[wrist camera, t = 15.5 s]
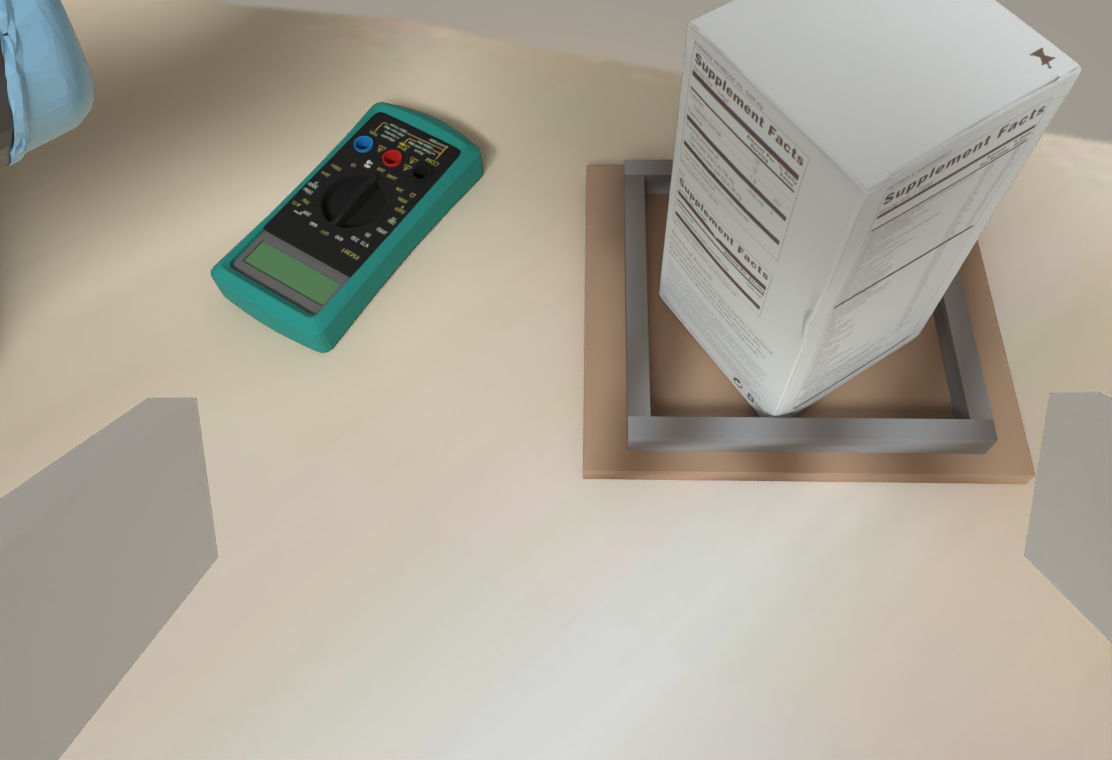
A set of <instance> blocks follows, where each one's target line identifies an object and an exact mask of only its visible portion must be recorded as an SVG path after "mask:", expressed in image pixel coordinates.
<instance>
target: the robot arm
mask: <svg viewBox="0 0 1112 760" xmlns="http://www.w3.org/2000/svg"><path fill="white" fill-rule="evenodd" d="M94 97H95V94H94V85H93V79H92V76H91V72H90V70H89V67H88V65H87V62H86V59H85V57H84V54H83V51H82V49H81V46H80V44H79V42H78V39H77V37H76V34H75V32H74V30H73V27H72V25H71V23H70V20H69V18H68V16H67V14H66V12H65V9H64V7H63V5H62V3H61V0H0V167H2V166H4V165H8V166H10V165H13V164H15V163H16V162H19V161H21V160H22V159H23V157H24V156H25V153H27V152H29V151H31V150H33V149H35V148H37V147H39V146H41V145H43V144H45V143H47V142H49V141H51V140H53V139H55V138H57V137H59V136H61V135H63V134H65V133H67V132H69V131H71V130H73V129H75V128H76V127H78V126H79V125H80V124H81V123H82V122H83V121H84V120H85V117H86V116H87V115H88V113H89V112H90V111H91V108H92V106H93V102H94ZM1024 556H1025V557H1026V558H1027V559H1028V560H1029V561H1030V562H1031V563H1032V564H1033V565H1034V566H1035V567H1036V568H1037V569H1038V570H1039V571H1040V572H1041V573H1042V574H1043V575H1044V576H1045V577H1046V578H1047V579H1048V580H1049V581H1050V582H1051V583H1052V584H1053V585H1054V586H1055V587H1056V588H1057V589H1058V590H1059V591H1060V592H1061V593H1062V594H1063V595H1064V596H1065V597H1066V598H1067V599H1068V600H1069V601H1070V602H1071V603H1072V604H1073V605H1074V606H1075V607H1076V608H1077V609H1078V610H1079V611H1080V612H1081V613H1082V614H1083V615H1084V616H1085V617H1086V618H1087V619H1088V620H1089V621H1090V622H1091V623H1092V624H1093V625H1094V626H1095V627H1096V628H1097V629H1098V630H1099V631H1100V632H1101V633H1102V634H1103V635H1104V636H1105V637H1106V638H1107V639H1108V640H1109V641H1110V642H1111V643H1112V399H1111V398H1109V397H1108V396H1106V395H1104V394H1102V393H1049V399H1048V405H1047V412H1046V418H1045V425H1044V431H1043V437H1042V444H1041V450H1040V457H1039V463H1038V469H1037V476H1036V482H1035V489H1034V495H1033V501H1032V508H1031V514H1030V521H1029V527H1028V533H1027V540H1026V546H1025V553H1024ZM217 558H218V552H217V545H216V537H215V530H214V523H213V515H212V508H211V501H210V493H209V486H208V479H207V471H206V464H205V457H204V449H203V442H202V435H201V427H200V420H199V413H198V405H197V398H147V399H146V400H144V401H143V402H141V403H140V404H138V405H137V406H135V407H134V408H133V409H131V410H130V411H128V412H127V413H125V414H124V415H122V416H121V417H119V418H118V419H116V420H115V421H114V422H112V423H111V424H109V425H108V426H106V427H105V428H103V429H102V430H100V431H99V432H98V433H96V434H95V435H93V436H92V437H90V438H89V439H87V440H86V441H84V442H83V443H81V444H80V445H79V446H77V447H76V448H74V449H73V450H71V451H70V452H68V453H67V454H65V455H64V456H62V457H61V458H60V459H58V460H57V461H55V462H54V463H52V464H51V465H49V466H48V467H46V468H45V469H43V470H42V471H41V472H39V473H38V474H36V475H35V476H33V477H32V478H30V479H29V480H27V481H26V482H25V483H23V484H22V485H20V486H19V487H17V488H16V489H14V490H13V491H11V492H10V493H8V494H7V495H6V496H4V497H3V498H1V499H0V760H58V759H59V758H60V757H61V755H62V754H63V753H64V752H65V750H66V749H67V748H68V747H69V745H70V744H71V743H72V742H73V740H74V739H75V738H76V736H77V735H78V734H79V733H80V731H81V730H82V729H83V728H84V726H85V725H86V724H87V723H88V721H89V720H90V719H91V717H92V716H93V715H94V714H95V712H96V711H97V710H98V709H99V707H100V706H101V705H102V704H103V702H104V701H105V700H106V698H107V697H108V696H109V695H110V693H111V692H112V691H113V690H114V688H115V687H116V686H117V684H118V683H119V682H120V681H121V679H122V678H123V677H124V676H125V674H126V673H127V672H128V671H129V669H130V668H131V667H132V665H133V664H134V663H135V662H136V660H137V659H138V658H139V657H140V655H141V654H142V653H143V652H144V650H145V649H146V648H147V646H148V645H149V644H150V643H151V641H152V640H153V639H154V638H155V636H156V635H157V634H158V633H159V631H160V630H161V629H162V627H163V626H164V625H165V624H166V622H167V621H168V620H169V619H170V617H171V616H172V615H173V614H174V612H175V611H176V610H177V608H178V607H179V606H180V605H181V603H182V602H183V601H184V600H185V598H186V597H187V596H188V595H189V593H190V592H191V591H192V589H193V588H194V587H195V586H196V584H197V583H198V582H199V581H200V579H201V578H202V577H203V575H204V574H205V573H206V572H207V570H208V569H209V568H210V567H211V565H212V564H213V563H214V562H215V560H216V559H217Z"/></svg>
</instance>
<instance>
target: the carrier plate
mask: <svg viewBox="0 0 1112 760" xmlns="http://www.w3.org/2000/svg"><path fill="white" fill-rule="evenodd" d="M672 167H673V160H625V162H624V165H587V190H586V269H585V348H584V427H583V479H653V480H739V481H825V482H911V483H997V484H1026V483H1027V482H1028V481H1029V480H1031V479H1032V478H1033V477H1034V476H1035V472H1034V468H1033V464H1032V460H1031V456H1030V452H1029V448H1028V444H1027V440H1026V436H1025V432H1024V427H1023V423H1022V419H1021V415H1020V411H1019V407H1018V403H1017V399H1016V395H1015V391H1014V387H1013V383H1012V379H1011V375H1010V370H1009V366H1008V362H1007V358H1006V354H1005V350H1004V346H1003V342H1002V338H1001V334H1000V330H999V326H998V322H997V317H996V313H995V309H994V305H993V301H992V297H991V293H990V289H989V285H988V281H987V277H986V273H985V269H984V265H983V260H982V256H981V252H980V248H979V244H978V240H977V241H976V243H975V244H974V246H973V248H972V249H971V251H970V253H969V254H968V256H967V257H966V259H965V261H964V262H963V264H962V265H961V267H960V269H959V271H958V272H957V274H956V276H955V277H954V279H953V280H952V282H951V283H950V285H949V287H948V288H947V290H946V292H945V293H944V295H943V297H942V298H941V300H940V301H939V303H938V305H937V306H936V308H935V310H934V311H933V313H932V315H931V316H930V317H929V319H928V321H927V323H926V324H925V326H924V327H923V329H922V331H921V332H920V334H919V335H918V336H917V337H916V338H914V339H913V340H911V341H910V342H908V343H907V344H905V345H903V346H902V347H900V348H899V349H897V350H896V351H894V352H892V353H891V354H889V355H888V356H886V357H885V358H883V359H881V360H880V361H878V362H877V363H875V364H874V365H872V366H870V367H869V368H867V369H866V370H864V371H863V372H861V373H859V374H858V375H856V376H855V377H853V378H852V379H850V380H848V381H847V382H845V383H844V384H842V385H841V386H839V387H838V388H836V389H835V390H833V391H832V392H830V393H829V394H827V395H825V396H824V397H822V398H821V399H819V400H818V401H816V402H815V403H813V404H811V405H810V406H808V407H807V408H805V409H803V410H802V411H800V412H799V413H797V414H795V415H794V416H792V417H791V418H771V417H760V416H759V415H758V414H757V412H756V411H755V410H754V409H753V408H752V406H751V405H750V404H749V403H748V402H747V400H746V399H745V398H744V397H743V396H742V394H741V393H740V392H739V391H738V390H737V389H736V387H735V386H734V385H733V384H732V383H731V381H730V380H729V379H728V378H727V376H726V375H725V374H724V373H723V372H722V370H721V369H720V368H719V367H718V366H717V364H716V363H715V362H714V361H713V360H712V358H711V357H710V356H709V355H708V354H707V353H706V351H705V350H704V349H703V348H702V347H701V345H700V344H699V343H698V342H697V341H696V339H695V338H694V337H693V336H692V335H691V333H690V332H689V331H688V330H687V329H686V327H685V326H684V325H683V324H682V323H681V321H680V320H679V319H678V318H677V317H676V315H675V314H674V313H673V312H672V311H671V309H670V308H669V307H668V306H667V304H666V303H665V302H664V301H663V300H662V298H661V297H660V295H659V290H660V280H661V270H662V260H663V251H664V242H665V232H666V223H667V214H668V204H669V194H670V185H671V176H672Z"/></svg>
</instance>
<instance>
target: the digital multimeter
mask: <svg viewBox="0 0 1112 760" xmlns="http://www.w3.org/2000/svg"><path fill="white" fill-rule="evenodd" d="M455 160H456V161H455ZM454 161H455V162H454ZM453 162H454V163H453ZM447 169H448V170H447ZM446 170H447V171H446ZM445 171H446V172H445ZM444 172H445V173H444ZM482 175H483V168H482V162H481V155H480V150H479V148H478V147H477V146H476V145H474V144H473V143H472V142H471V141H469V140H468V139H467V138H466V137H464V136H463V135H462V134H461V133H459V132H458V131H456V130H455V129H453V128H452V127H450V126H449V125H447V124H446V123H444V122H442V121H440V120H438V119H436V118H434V117H432V116H430V115H427V114H425V113H421V112H418V111H415V110H412V109H409V108H405V107H401V106H397V105H392V104H388V103H384V102H379V103H376V104H374V105H373V106H372V107H371V108H370V109H369V111H368V112H367V113H366V114H365V115H364V116H363V117H362V119H361V120H360V121H359V122H358V123H357V124H356V125H355V126H354V128H353V129H352V130H351V131H350V132H349V133H348V134H347V136H346V137H345V138H344V139H343V140H342V141H341V142H340V143H339V144H338V145H337V146H336V147H335V148H334V149H333V150H332V151H331V152H330V153H329V154H328V156H327V157H326V158H325V159H324V160H323V161H322V162H321V163H320V164H319V165H318V166H317V167H316V168H315V169H314V170H313V171H312V172H311V173H310V174H309V175H308V176H307V177H306V178H305V179H304V180H303V181H302V182H301V183H300V184H299V185H298V186H297V187H296V188H295V189H294V190H293V191H292V192H291V193H290V194H289V195H288V196H287V197H286V198H285V199H284V200H283V201H282V202H281V203H280V204H279V205H278V206H277V207H276V208H275V209H274V210H273V211H272V212H271V213H270V214H269V215H268V216H267V217H266V218H265V219H264V220H263V221H262V222H261V223H260V224H259V225H258V226H257V227H256V228H254V229H253V230H252V231H251V232H250V233H249V234H248V235H247V236H246V237H245V238H244V239H243V240H242V241H241V242H239V243H238V244H237V245H236V246H235V247H234V248H233V249H232V250H231V251H230V252H229V253H228V254H227V255H226V256H225V257H223V258H222V259H221V260H220V261H219V262H218V263H217V264H216V265H215V266H214V267H213V268H212V270H211V276H212V278H213V280H214V281H215V283H216V284H217V286H218V288H219V289H220V291H221V292H222V294H223V295H224V296H225V297H226V298H227V299H229V300H230V301H231V302H233V303H234V304H235V305H237V306H238V307H239V308H241V309H242V310H243V311H245V312H246V313H248V314H249V315H251V316H252V317H254V318H255V319H257V320H258V321H260V322H261V323H263V324H265V325H266V326H268V327H270V328H271V329H273V330H275V331H276V332H278V333H280V334H282V335H284V336H286V337H288V338H290V339H292V340H294V341H296V342H298V343H300V344H302V345H304V346H306V347H309V348H311V349H313V350H315V351H317V352H321V353H324V352H328V351H329V350H331V349H332V348H333V347H334V346H335V344H336V343H337V342H338V340H339V339H340V338H341V337H342V335H343V334H344V333H345V332H346V330H347V329H348V328H349V326H350V325H351V324H352V323H353V321H354V320H355V319H356V318H357V316H358V315H359V314H360V313H361V311H362V310H363V309H364V307H365V306H366V305H367V304H368V302H369V301H370V300H371V299H372V297H373V296H374V295H375V293H376V292H377V291H378V290H379V289H380V287H381V286H382V285H383V284H384V283H385V282H386V280H387V279H388V278H389V277H390V276H391V274H392V273H393V272H394V271H395V270H396V269H397V267H398V266H399V265H400V264H401V263H402V262H403V260H404V259H405V258H406V257H407V256H408V254H409V253H410V252H411V251H412V250H413V249H414V247H415V246H416V245H417V244H418V243H419V242H420V241H421V240H422V239H423V238H424V237H425V236H426V235H427V233H428V232H429V231H430V230H431V229H432V228H433V227H434V226H435V225H436V224H437V223H438V222H439V220H440V219H441V218H442V217H443V216H444V215H445V214H446V213H447V212H448V211H449V210H450V209H451V207H452V206H453V205H454V204H455V203H456V202H457V201H458V200H459V199H460V198H461V197H462V196H463V195H464V194H465V193H466V192H467V191H468V190H469V189H470V188H471V187H472V186H473V185H474V184H475V183H476V182H477V181H478V180H479V179H480V178H481V177H482ZM439 178H440V179H439ZM438 179H439V180H438ZM437 180H438V181H437ZM436 181H437V182H436ZM388 188H389V189H388ZM390 198H391V200H390ZM421 198H422V199H421ZM420 199H421V200H420ZM419 200H420V201H419ZM418 201H419V202H418ZM317 202H318V203H317ZM389 204H390V205H389ZM414 206H415V207H414ZM317 207H318V208H317ZM413 207H414V208H413ZM412 208H413V209H412ZM411 209H412V210H411ZM410 210H411V211H410ZM406 215H407V216H406ZM405 216H406V217H405ZM404 217H405V218H404ZM403 218H404V219H403ZM402 219H403V220H402ZM401 220H402V221H401ZM397 225H398V226H397ZM396 226H397V227H396ZM395 227H396V228H395ZM394 228H395V229H394ZM393 229H394V230H393ZM392 230H393V231H392ZM389 234H390V235H389ZM388 235H389V236H388ZM387 236H388V237H387ZM386 237H387V238H386ZM385 238H386V239H385ZM384 239H385V240H384ZM380 244H381V245H380ZM379 245H380V246H379ZM378 246H379V247H378ZM377 247H378V248H377ZM376 248H377V249H376ZM375 249H376V250H375ZM371 254H372V255H371ZM370 255H371V256H370ZM369 256H370V257H369ZM368 257H369V258H368ZM367 258H368V259H367ZM366 259H367V260H366ZM362 264H363V265H362ZM361 265H362V266H361ZM360 266H361V267H360ZM359 267H360V268H359ZM358 268H359V269H358ZM352 275H353V276H352Z"/></svg>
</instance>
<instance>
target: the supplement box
mask: <svg viewBox="0 0 1112 760" xmlns="http://www.w3.org/2000/svg"><path fill="white" fill-rule="evenodd" d="M1080 72H1081V67H1080V66H1079V65H1078V64H1077V63H1076V62H1075V61H1074V60H1072V59H1071V58H1070V57H1069V56H1067V55H1066V54H1065V53H1064V52H1062V51H1061V50H1060V49H1058V48H1057V47H1056V46H1054V45H1053V44H1052V43H1050V42H1049V41H1048V40H1047V39H1045V38H1044V37H1043V36H1042V35H1040V34H1039V33H1038V32H1036V31H1035V30H1034V29H1032V28H1031V27H1030V26H1028V25H1027V24H1026V23H1024V22H1023V21H1022V20H1021V19H1019V18H1018V17H1016V16H1015V15H1014V14H1012V13H1011V12H1010V11H1008V10H1007V9H1006V8H1005V7H1003V6H1002V5H1001V4H999V3H998V2H997V1H995V0H733V1H731V2H729V3H727V4H725V5H723V6H720V7H718V8H716V9H714V10H712V11H710V12H708V13H706V14H704V15H702V16H700V17H698V18H696V19H693V20H692V21H690V22H689V23H688V26H687V35H686V45H685V55H684V63H683V72H682V83H681V92H680V102H679V111H678V120H677V129H676V138H675V148H674V157H673V167H672V176H671V185H670V194H669V204H668V214H667V223H666V232H665V242H664V251H663V260H662V270H661V280H660V290H659V295H660V297H661V298H662V300H663V301H664V302H665V303H666V304H667V306H668V307H669V308H670V309H671V311H672V312H673V313H674V314H675V315H676V317H677V318H678V319H679V320H680V321H681V323H682V324H683V325H684V326H685V327H686V329H687V330H688V331H689V332H690V333H691V335H692V336H693V337H694V338H695V339H696V341H697V342H698V343H699V344H700V345H701V347H702V348H703V349H704V350H705V351H706V353H707V354H708V355H709V356H710V357H711V358H712V360H713V361H714V362H715V363H716V364H717V366H718V367H719V368H720V369H721V370H722V372H723V373H724V374H725V375H726V376H727V378H728V379H729V380H730V381H731V383H732V384H733V385H734V386H735V387H736V389H737V390H738V391H739V392H740V393H741V394H742V396H743V397H744V398H745V399H746V400H747V402H748V403H749V404H750V405H751V406H752V408H753V409H754V410H755V411H756V412H757V414H758V415H759V416H760V417H771V418H791V417H792V416H794V415H795V414H797V413H799V412H800V411H802V410H803V409H805V408H807V407H808V406H810V405H811V404H813V403H815V402H816V401H818V400H819V399H821V398H822V397H824V396H825V395H827V394H829V393H830V392H832V391H833V390H835V389H836V388H838V387H839V386H841V385H842V384H844V383H845V382H847V381H848V380H850V379H852V378H853V377H855V376H856V375H858V374H859V373H861V372H863V371H864V370H866V369H867V368H869V367H870V366H872V365H874V364H875V363H877V362H878V361H880V360H881V359H883V358H885V357H886V356H888V355H889V354H891V353H892V352H894V351H896V350H897V349H899V348H900V347H902V346H903V345H905V344H907V343H908V342H910V341H911V340H913V339H914V338H916V337H917V336H918V335H919V334H920V332H921V331H922V329H923V327H924V326H925V324H926V323H927V321H928V319H929V317H930V316H931V315H932V313H933V311H934V310H935V308H936V306H937V305H938V303H939V301H940V300H941V298H942V297H943V295H944V293H945V292H946V290H947V288H948V287H949V285H950V283H951V282H952V280H953V279H954V277H955V276H956V274H957V272H958V271H959V269H960V267H961V265H962V264H963V262H964V261H965V259H966V257H967V256H968V254H969V253H970V251H971V249H972V248H973V246H974V244H975V243H976V241H977V239H978V238H979V236H980V234H981V233H982V231H983V230H984V228H985V226H986V225H987V223H988V221H989V220H990V218H991V216H992V215H993V213H994V211H995V210H996V208H997V206H998V205H999V203H1000V202H1001V200H1002V199H1003V197H1004V195H1005V194H1006V192H1007V190H1008V189H1009V187H1010V186H1011V184H1012V182H1013V181H1014V179H1015V178H1016V176H1017V175H1018V173H1019V172H1020V170H1021V168H1022V167H1023V165H1024V164H1025V162H1026V160H1027V159H1028V157H1029V156H1030V154H1031V152H1032V151H1033V149H1034V147H1035V146H1036V144H1037V143H1038V141H1039V139H1040V138H1041V136H1042V134H1043V133H1044V131H1045V130H1046V128H1047V126H1048V125H1049V123H1050V121H1051V120H1052V118H1053V117H1054V115H1055V113H1056V112H1057V110H1058V108H1059V107H1060V105H1061V104H1062V102H1063V100H1064V99H1065V97H1066V96H1067V94H1068V92H1069V91H1070V89H1071V87H1072V85H1073V84H1074V82H1075V81H1076V79H1077V77H1078V76H1079V74H1080Z"/></svg>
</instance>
